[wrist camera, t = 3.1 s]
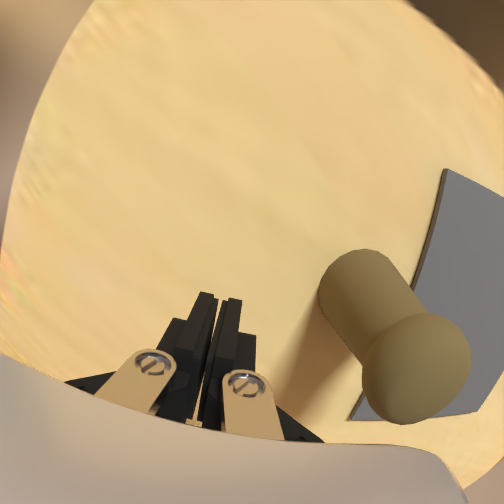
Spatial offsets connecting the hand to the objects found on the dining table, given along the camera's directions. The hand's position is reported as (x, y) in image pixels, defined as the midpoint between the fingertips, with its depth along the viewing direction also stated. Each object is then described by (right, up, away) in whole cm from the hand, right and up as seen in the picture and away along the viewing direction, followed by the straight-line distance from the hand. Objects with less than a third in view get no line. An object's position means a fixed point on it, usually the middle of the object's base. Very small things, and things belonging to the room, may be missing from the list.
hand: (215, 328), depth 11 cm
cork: (+9, 0, +8) cm, 12 cm away
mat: (+21, -3, +9) cm, 23 cm away
